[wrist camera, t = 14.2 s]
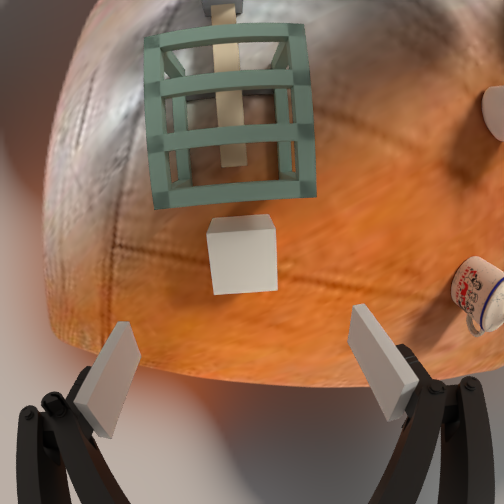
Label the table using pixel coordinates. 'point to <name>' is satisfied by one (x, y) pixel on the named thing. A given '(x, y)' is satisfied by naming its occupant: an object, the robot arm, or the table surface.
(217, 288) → the block
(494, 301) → the teacup with lid
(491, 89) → the mug
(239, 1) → the mallet
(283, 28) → the tube cage
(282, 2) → the table surface
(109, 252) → the table surface
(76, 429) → the robot arm
